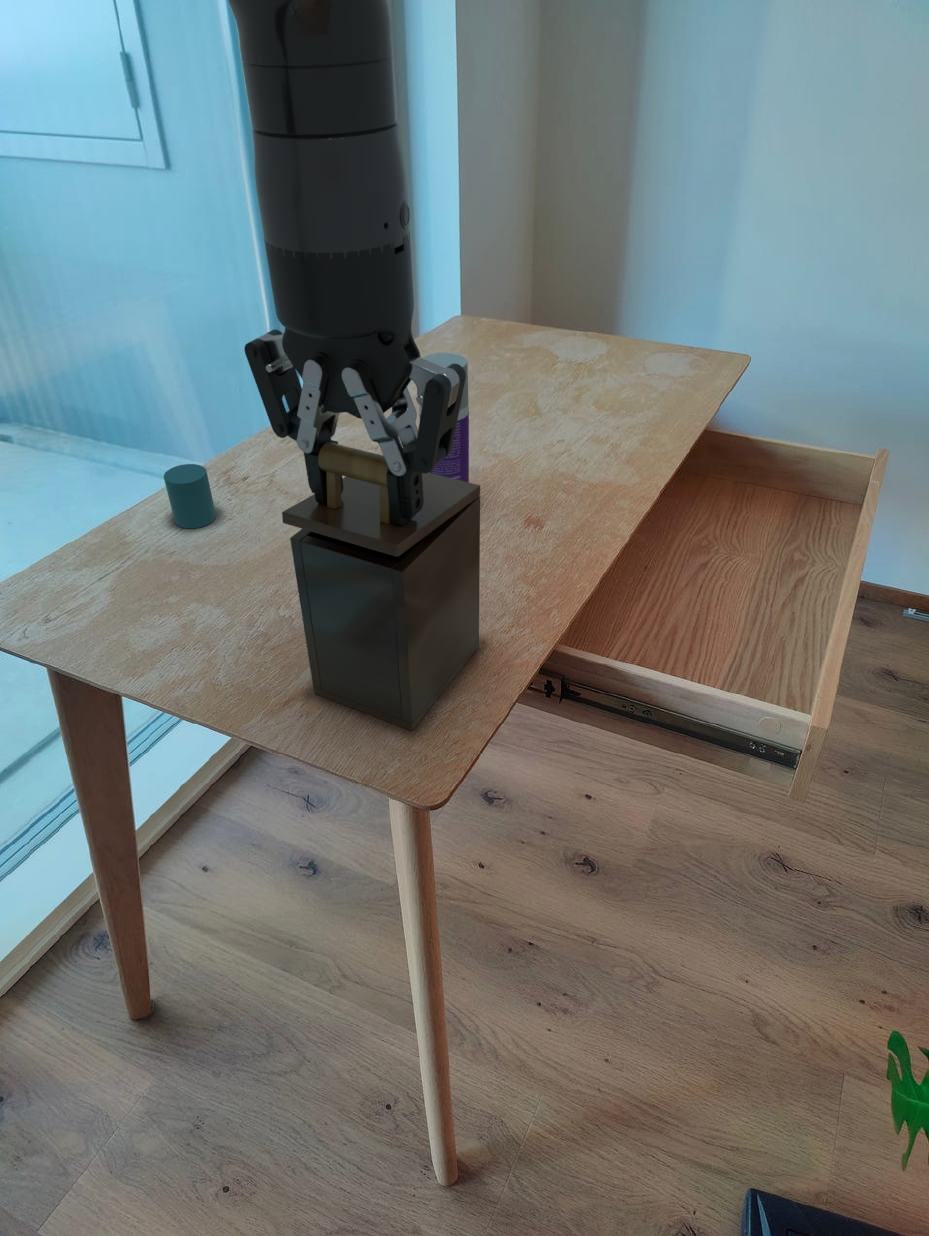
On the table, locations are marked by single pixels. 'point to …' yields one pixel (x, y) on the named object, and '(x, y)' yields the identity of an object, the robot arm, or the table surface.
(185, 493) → the teal cylinder
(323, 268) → the robot arm
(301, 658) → the table surface
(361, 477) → the lid
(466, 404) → the container
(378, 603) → the chest
